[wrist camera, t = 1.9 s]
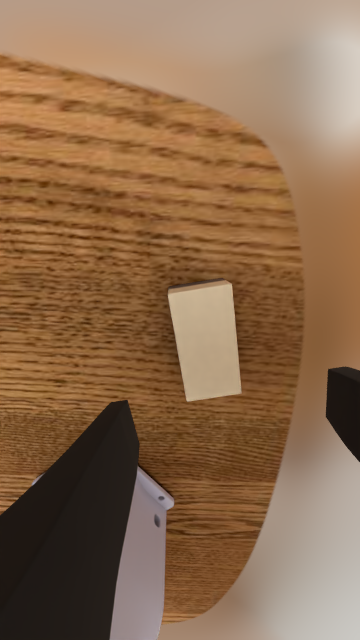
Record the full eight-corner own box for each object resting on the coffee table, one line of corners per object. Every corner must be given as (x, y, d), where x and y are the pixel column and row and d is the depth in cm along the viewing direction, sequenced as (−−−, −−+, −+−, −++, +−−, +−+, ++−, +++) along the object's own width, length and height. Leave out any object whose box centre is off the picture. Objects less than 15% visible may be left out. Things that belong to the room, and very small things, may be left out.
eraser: (232, 372, 17) (241, 393, 14) (184, 380, 17) (186, 402, 14) (222, 277, 14) (232, 283, 12) (168, 286, 15) (167, 294, 12)
